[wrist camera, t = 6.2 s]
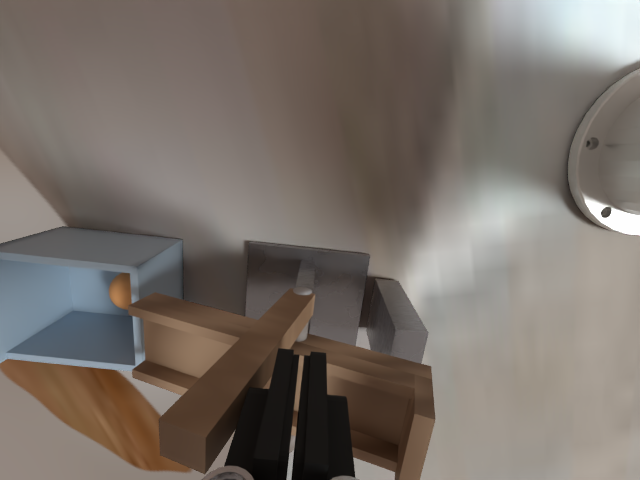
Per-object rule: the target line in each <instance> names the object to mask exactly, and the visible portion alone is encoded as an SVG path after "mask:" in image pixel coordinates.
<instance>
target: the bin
mask: <svg viewBox="0 0 640 480" xmlns="http://www.w3.org/2000/svg"><path fill="white" fill-rule="evenodd" d="M122 272H123V273H130V282H131V299H132V303H134V302H136V301H138V300H140V299H142V298H144V297H146V296H148V295H150V294H152V293H154V292H156V293H160V294H163V295H167V296H171V297H175V298H178V299H182V300H183V239H173V238H164V237H155V236H146V235H137V234H128V233H118V232H109V231H100V230H91V229H82V228H73V227H59V228H55V229H51V230H48V231H44V232H41V233H37V234H33V235H30V236H26V237H23V238H19V239H16V240H12V241H8V242H5V243H1V244H0V363H1V362H3V361H4V360H6V359H15V360H25V361H35V362H45V363H54V364H64V365H74V366H84V367H94V368H103V369H113V370H123V371H132V369H133V368H135V367H136V366H138V365H139V364H140V363H142V362H143V361H144V360H145V345H144V325H143V319H141V318H138V317H134V316H131V315H129V312H128V310H125V309H122V308H119V307H117V306H116V305H115V304H114V303H113V302H112V301H111V299H110V296H109V287H110V284H111V282H112V280H113V279H114V278H115V277H116V276H117V275H119V274H120V273H122Z"/></svg>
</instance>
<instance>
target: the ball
mask: <svg viewBox="0 0 640 480" xmlns="http://www.w3.org/2000/svg"><path fill="white" fill-rule="evenodd" d="M109 296H110V299H111V301H112V302H113V303H114V304H115V305H116V306H117V307H119V308H122V309H125V310H128V305H130V304H132V299H131V282H130V273H123V272H122V273H120V274H119V275H117V276H116V277H115V278H114V279H113V280H112V282H111V284H110V287H109Z"/></svg>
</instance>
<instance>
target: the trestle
mask: <svg viewBox="0 0 640 480" xmlns="http://www.w3.org/2000/svg"><path fill="white" fill-rule="evenodd" d="M369 259H370V255H369V254H363V253H354V252H345V251H336V250H326V249H317V248H308V247H299V246H290V245H281V244H272V243H262V242H253V241H250V243H249V252H248V272H247V292H246V312H245V317H249V318H253V319H256V320H259V319H260V318H261V317H262V316H263V315H264V314H265V313H266V312H267V311H268V310H269V309H270V308H271V307H272V306H273V305H274V304H275V303H276V302H277V301H278V300H279V299H280V298H281V297H282V296H283V295H284V294H285V293H286V292H287V291H288V290H289V289H290V288H292V289H294V288H296V287H306V288H309V289H311V290H312V293H313V294H315V301H314V310H313V315H312V317H311V318H310V320H309V324H308V334H312V335H316V336H320V337H323V338H327V339H331V340H334V341H338V342H342V343H346V344H349V345H353V346H355V345H356V339H357V333H358V327H359V321H360V314H361V308H362V302H363V296H364V290H365V284H366V277H367V271H368V265H369ZM366 331H367V335H368V339H369V343H370V348H371V350H372V351H375V352H379V353H383V354H387V355H390V356H394V357H398V358H401V359H405V360H409V361H413V362H416V363H420V364H421V362H422V358H423V354H424V349H425V345H426V341H427V337H428V331H427V329H426V328H425V326H424V324H423V322H422V321H421V319H420V317H419V316H418V314H417V312H416V310H415V309H414V307H413V305H412V304H411V302H410V300H409V298H408V297H407V295H406V293H405V291H404V290H403V288H402V286H401V285H400V283H399V281H394V280H385V279H376V278H375V282H374V288H373V294H372V300H371V306H370V312H369V317H368V323H367V329H366Z"/></svg>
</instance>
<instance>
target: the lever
mask: <svg viewBox="0 0 640 480" xmlns="http://www.w3.org/2000/svg"><path fill="white" fill-rule="evenodd" d="M314 301H315V294H313V293H312V290H311V289H309V288H306V287H296V288H294V289H292V288H290V289H289V290H288V291H287V292H286V293H285V294H284V295H283V296H282V297H281V298H280V299H279V300H278V301H277V302H276V303H275V304H274V305H273V306H272V307H271V308H270V309H269V310H268V311H267V312H266V313H265V314H264V315H263V316H262V317H261V318H260V319H259V320H256V319H253V318H249V317H245V316H241V315H238V314H234V313H230V312H227V311H223V310H219V309H215V308H212V307H208V306H204V305H201V304H197V303H193V302H189V301H186V300H182V299H178V298H175V297H171V296H167V295H163V294H160V293H156V292H154V293H152V294H150V295H148V296H146V297H144V298H142V299H140V300H138V301H136V302H134V303H132V304H130V305H128V312H129V315H131V316H134V317H138V318H141V319H143V325H144V345H145V360H144V361H143V362H142V363H140V364H139V365H138V366H136V367H135V368H133V369H132V375H133V378H135V379H138V380H141V381H144V382H146V383H149V384H152V385H155V386H157V387H160V388H163V389H166V390H169V391H171V392H175V393H177V394H180V395H182V396H181V397H180V398H179V400H178V401H176V402H175V404H173V406H171V407H170V408H169V409H168V410H167V412H166V413H164V414H163V415H162V416H161V417H160V418H159V438H160V455H161V456H163V457H166V458H168V459H170V460H173V461H175V462H178V463H180V464H182V465H185V466H187V467H189V468H192V469H194V470H196V471H199V472H201V473H203V474H205V473H206V472H207V471H208V469H209V468H210V466H211V465H212V463H213V462H214V461H215V459H216V458H217V456H218V455H219V453H220V452H221V450H222V449H223V447H224V446H225V444H226V443H227V441H228V440H229V438H230V437H231V435H232V434H233V432H234V431H235V429H236V427H237V424H238V421H239V417H240V414H241V411H242V408H243V405H244V402H245V398H246V395H247V392H248V389H249V388H250V387H252V388H263V389H269V387H270V383H271V378H272V374H273V370H274V365H275V361H276V356H277V352H278V348H282V349H292V350H294V354H298V355H299V365H298V375H297V384H296V394H295V404H294V413H293V423H292V432H291V441H290V450H289V453H290V452H292V451H293V450H294V448H295V437H296V427H297V417H298V408H299V399H300V389H301V380H302V371H303V362H304V355H309V356H310V353H311V351H313V352H323V353H326V359H327V395H338V396H346V397H347V403H348V412H349V422H350V432H351V442H352V451H353V457H355V458H357V459H360V460H363V461H366V462H368V463H371V464H374V465H377V466H380V467H382V468H385V469H388V470H391V471H393V472H395V480H420V476H421V472H422V469H423V465H424V461H425V457H426V453H427V450H428V446H429V442H430V438H431V434H432V430H433V427H434V423H435V410H434V398H433V386H432V373H431V366H427V365H424V364H420V363H416V362H413V361H409V360H405V359H401V358H398V357H394V356H390V355H387V354H383V353H379V352H375V351H372V350H368V349H364V348H360V347H357V346H353V345H349V344H346V343H342V342H338V341H334V340H331V339H327V338H323V337H320V336H316V335H312V334H308V324H309V320H310V318H311V317H312V315H313V310H314Z"/></svg>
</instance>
